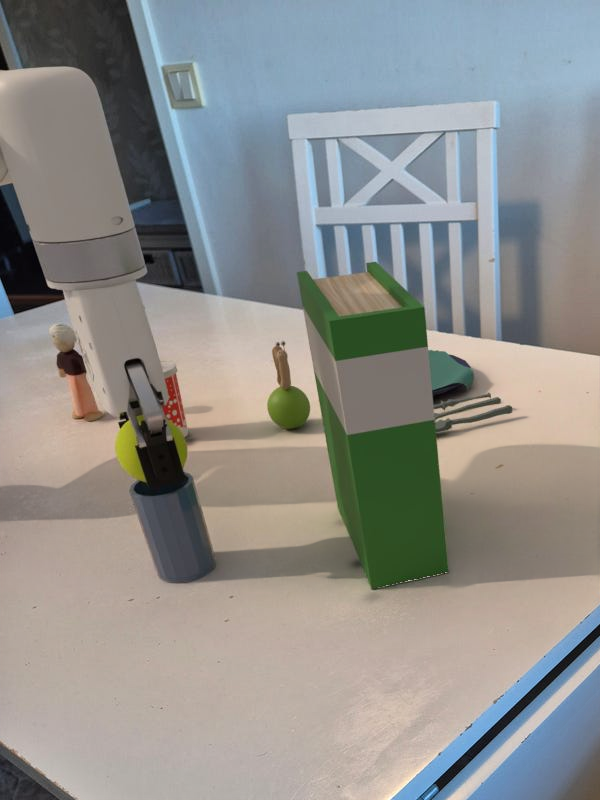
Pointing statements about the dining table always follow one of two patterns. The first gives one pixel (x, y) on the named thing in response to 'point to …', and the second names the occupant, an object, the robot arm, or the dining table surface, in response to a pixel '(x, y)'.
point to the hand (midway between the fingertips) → (157, 470)
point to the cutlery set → (450, 375)
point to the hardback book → (378, 420)
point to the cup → (174, 530)
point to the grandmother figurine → (74, 373)
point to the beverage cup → (173, 397)
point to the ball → (128, 442)
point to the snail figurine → (286, 395)
